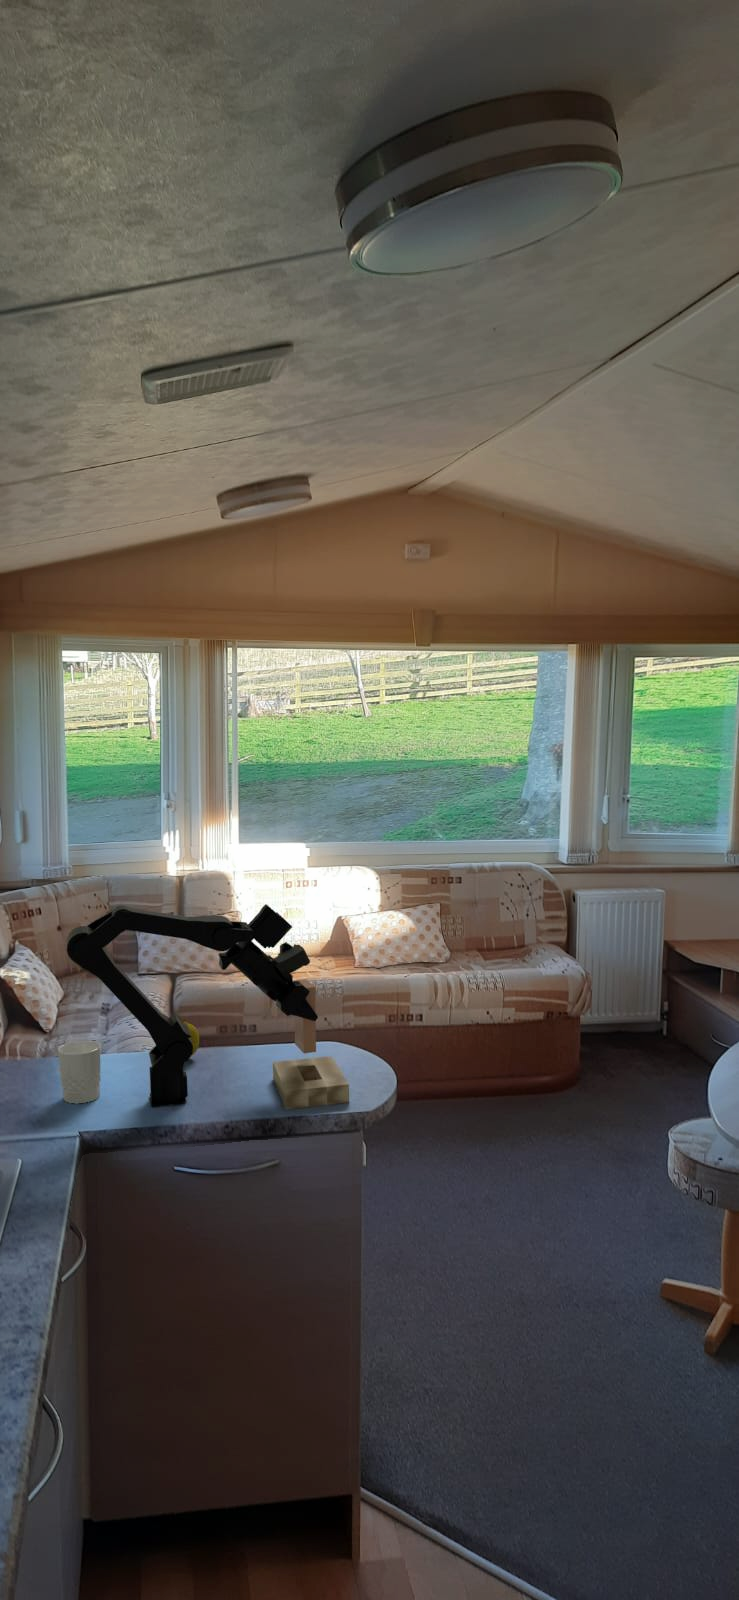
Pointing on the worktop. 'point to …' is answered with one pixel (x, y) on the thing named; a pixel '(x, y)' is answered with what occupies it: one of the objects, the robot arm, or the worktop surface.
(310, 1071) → the pine slot box
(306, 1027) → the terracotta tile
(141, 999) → the robot arm
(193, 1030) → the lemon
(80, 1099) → the white cup
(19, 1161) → the worktop surface
